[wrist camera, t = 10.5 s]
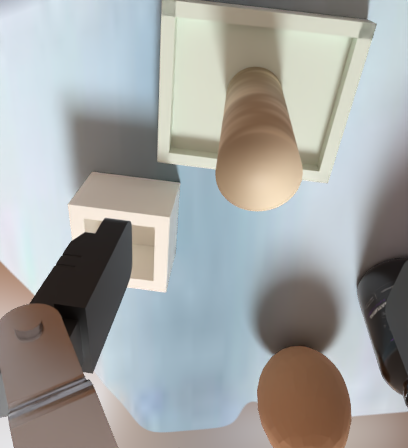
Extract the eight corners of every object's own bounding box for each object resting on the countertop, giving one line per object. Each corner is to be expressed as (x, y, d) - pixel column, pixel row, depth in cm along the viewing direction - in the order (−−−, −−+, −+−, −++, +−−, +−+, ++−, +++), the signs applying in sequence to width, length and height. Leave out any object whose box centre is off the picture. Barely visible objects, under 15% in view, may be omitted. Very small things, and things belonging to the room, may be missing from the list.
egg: (303, 387, 44) (318, 503, 34) (240, 357, 42) (238, 471, 32) (356, 348, 39) (389, 468, 30) (289, 313, 37) (303, 430, 28)
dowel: (287, 70, 24) (312, 139, 15) (276, 125, 26) (292, 216, 17) (230, 63, 24) (220, 128, 15) (223, 119, 26) (211, 205, 17)
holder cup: (180, 182, 31) (169, 217, 26) (175, 252, 34) (165, 292, 30) (91, 171, 31) (67, 204, 27) (97, 242, 35) (77, 280, 30)
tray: (367, 19, 23) (376, 24, 22) (323, 170, 29) (327, 183, 27) (167, -4, 24) (161, -1, 22) (162, 150, 29) (157, 161, 27)
